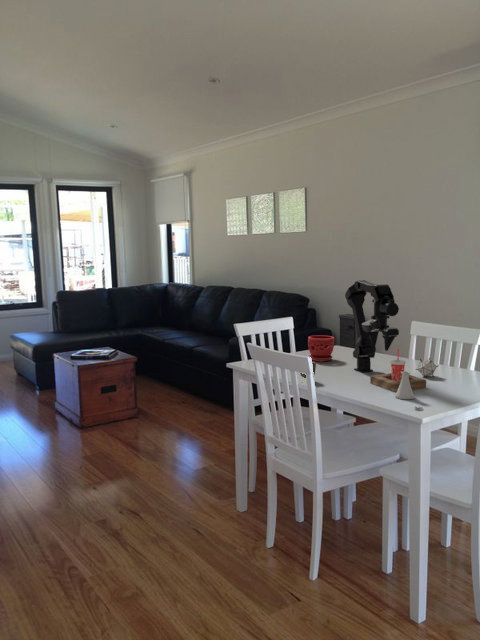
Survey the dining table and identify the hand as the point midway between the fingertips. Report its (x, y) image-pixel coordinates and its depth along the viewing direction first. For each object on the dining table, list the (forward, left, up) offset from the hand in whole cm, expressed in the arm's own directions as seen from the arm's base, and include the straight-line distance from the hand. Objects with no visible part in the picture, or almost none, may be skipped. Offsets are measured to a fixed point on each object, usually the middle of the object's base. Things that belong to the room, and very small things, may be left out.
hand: (379, 348), depth 253 cm
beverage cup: (+14, -1, -12) cm, 18 cm away
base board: (+14, -1, -13) cm, 19 cm away
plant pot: (-45, -3, -13) cm, 47 cm away
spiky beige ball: (+7, +20, -13) cm, 25 cm away
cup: (-9, -31, -13) cm, 35 cm away
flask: (+30, -10, -13) cm, 34 cm away
